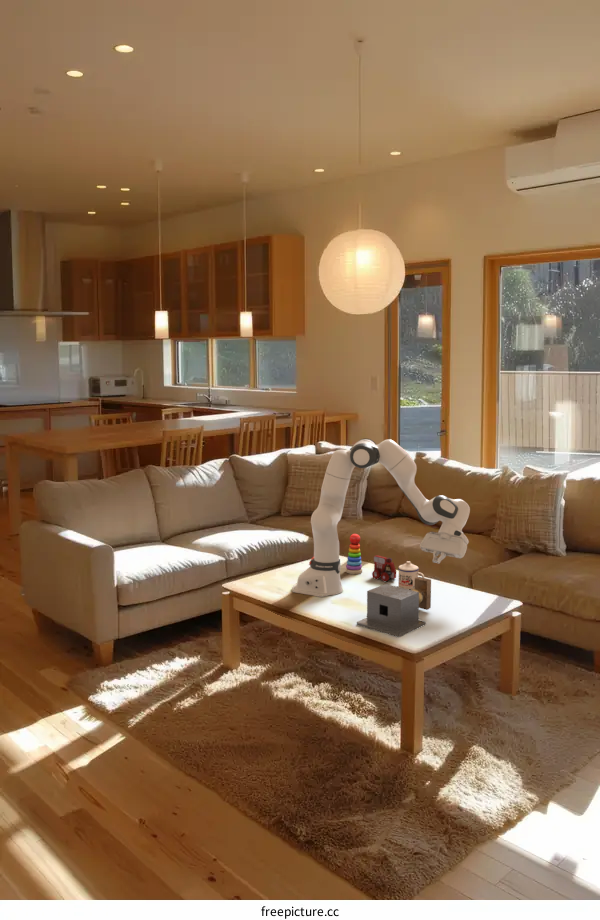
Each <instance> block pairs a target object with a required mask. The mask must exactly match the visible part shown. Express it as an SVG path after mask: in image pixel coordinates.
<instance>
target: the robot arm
mask: <svg viewBox="0 0 600 920" xmlns="http://www.w3.org/2000/svg"><path fill="white" fill-rule="evenodd" d="M378 463H379V464H381V465H382V466H383V467H384V468H385V469H386V470H387V471H388V473H390V475H391V476H392V477H393V479H394V480H395V481H396V483H397V486H398V487H399V488H400V491H401V492H402V493H403V494H404V496H405V497H406V499H407V500H408V501H409V502H410V504H411V505H412V507H413V508H414V509H415V512H416V515H417V516H418V518H419V519H420V521H421V522H422V523H424V524H425V525H428V526H433V525H435V524H437V523H439V522H441V526H440V528H439V529H438V532H435V531H429V532H427V533H426V534H425V535H424V537H423V538H422V540H421V542H420V544H419V548H420V549H421V551H423V552H426V553H431V554H432V556H433V558H432V563H434V564H435V563H436V564H440V563H441V562H442V561H443V560H444V559H445V558H446V557H451V558H456V559H462V558H464V556H466V555H465V554H466V552H467V549H468V544H469V543H470V541H469V539H468V537H467V536H466V535H465V534H464V532H463V528H464V527H465V526H466V524H467V521H468V519H469V516H470V512H471V507H470V506H469V504H468V503H467V502H466V501H465V500H463V499H462V498H456V499H455V498H454V499H453V498H450V497H448V496H446V495H443V494H442V495H440V494H439V495H436V496H434V497H433V498H431V499H427V498H426V497H425V496H424V494H423V493H422V491H420V489H419V488H418V486H417V485H416V483H415V477H416V475H417V471H418V470H417V469H418V467H417V464H416V462H415V461H414V458H412V457H411V456H410V454H409V453H408V452H407V451H406V450H405V449H404V448H403V447H402V446H400V445H399V444H398V443H397V442H396V441H394V440H392V439H391V438H389V439H384V440H383V441H381V442H379V443H378V444H377V443H376V442H375V441H374V440H372V439H371V438H361V439H359V440H358V441H356V442H355V443H354V444H353V445H352V446H351V447H350V448H349V450H346V449H337V450H335V451H333V453H332V455H331V457H330V458H329V462H328V464H327V467H326V470H325V473H324V477H323V481H322V485H321V490H320V496H319V497H320V498H319V503H318V505H317V508H316V509H314V511H313V512H312V514H311V518H310V524H311V529H312V537H313V556H312V557H311V559H310V560H309V564H308V565H309V567H308V568H306V569H305V570H303V571H302V572H301V573H300V574H299V575H298V577H297V580H296V581H297V582H296V583H295V584H294V585H292V587H291V588H292V589H291V591H292V593H297V594H302V595H303V594H304V595H309V596H314V597H321V598H322V597H327V596H334V595H338V594H341V593H343V591H344V590H343V585H342V580H341V564H342V563H341V559H340V541H339V535H338V523H339V522H340V521H341V519H342V515H343V512H344V511H343V510H344V506H345V501H346V495H347V494H348V493H347V492H348V488H349V485H350V482H351V478H352V474H353V471H354V469H355V468H359V469H366V468H370V467H372V466H374V465H376V464H378ZM438 556H439V557H438Z"/></svg>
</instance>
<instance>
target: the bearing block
mask: <svg viewBox="0 0 600 920" xmlns="http://www.w3.org/2000/svg"><path fill="white" fill-rule="evenodd" d="M366 594H367V595H366V606H367V607H366V617H365V618H362V619H361V620H358V621H356V626H359V627H363V628H366V629H369V630H373V631H376V632H379V633H381V634H386V635H388V636H392V637H396V638H401V637H403V636H404V635H407V634H409V633H411V632H414V631H415V630H418V629H419V627H420V628H421V626H422V627H424V626H426V625H427V621H425V620H422V619H419V615H420V613H419V612H420V608H419V592H416V591H412V589H411V590H408V589H404V588H400V587H399V586H396V585H391V584H387V583H384V584H382V585H380V586H379V585H378V586H376V587H374V588H372V589H369V590H367V591H366ZM425 624H426V625H425ZM423 625H424V626H423ZM417 628H418V629H417Z"/></svg>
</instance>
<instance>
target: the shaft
mask: <svg viewBox="0 0 600 920" xmlns="http://www.w3.org/2000/svg"><path fill="white" fill-rule="evenodd" d="M411 590H412V591H416V592H419V609H422V610H426V611H427V610H429V609H431V606H432V602H431V600H432V578H431V579H430V578H426V577H424V578H422V576H418V577H417V578H415V588H414V589H411Z"/></svg>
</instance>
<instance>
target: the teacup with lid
mask: <svg viewBox="0 0 600 920" xmlns="http://www.w3.org/2000/svg"><path fill="white" fill-rule="evenodd" d="M397 569H398V587H400V588H404V589H411V590H412V589H414V588H415V578H417V577H419V575H420V577H422V578H425V575H424V574H423V573H422V572H419V569H420V568H419V566H417V565H415V564H414V563H412V562H411V561H410V560H409V561H408V560H407V561H406V562H405V563H403V564H400V565H398V568H397Z"/></svg>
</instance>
